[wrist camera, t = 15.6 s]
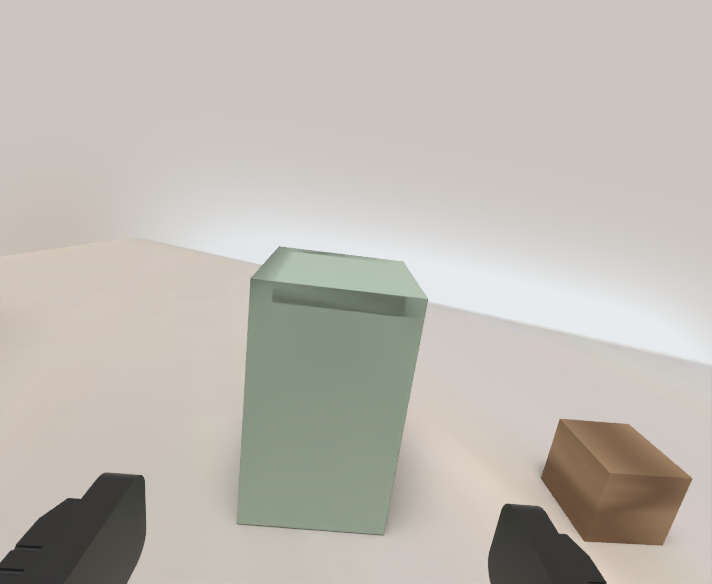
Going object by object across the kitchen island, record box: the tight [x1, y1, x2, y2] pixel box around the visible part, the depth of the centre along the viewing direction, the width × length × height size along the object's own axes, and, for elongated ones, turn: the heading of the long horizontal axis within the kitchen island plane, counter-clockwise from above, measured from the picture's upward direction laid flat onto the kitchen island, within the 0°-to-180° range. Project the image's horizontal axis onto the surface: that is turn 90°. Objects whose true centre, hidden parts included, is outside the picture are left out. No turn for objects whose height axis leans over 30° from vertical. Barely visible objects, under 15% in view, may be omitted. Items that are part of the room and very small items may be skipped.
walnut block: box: [541, 419, 692, 545], centre depth 20 cm, size 4×4×4 cm
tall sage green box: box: [237, 247, 428, 535], centre depth 19 cm, size 6×6×11 cm
